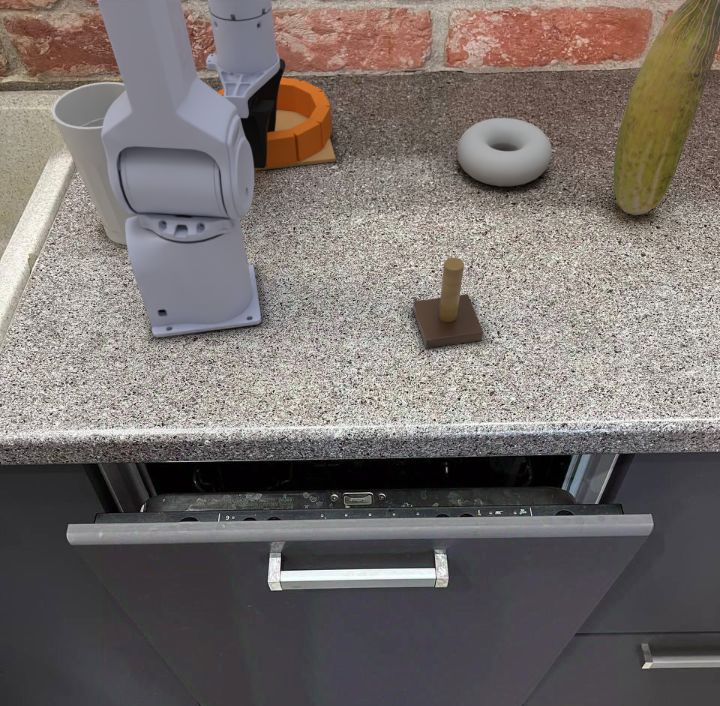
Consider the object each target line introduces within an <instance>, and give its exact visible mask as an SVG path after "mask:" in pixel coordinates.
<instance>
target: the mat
mask: <svg viewBox="0 0 720 706" xmlns="http://www.w3.org/2000/svg"><path fill="white" fill-rule="evenodd" d="M308 119H309V118H307V117H305V116H303V115H301V114H299V113H297V112H293V111H285V110H278V109H277V111H276V126H275V131H280V130H287V129H291V128H293V127H294V126H296V125H298V124H300V123H302V122H304V121H306V120H308ZM330 137H331V136H330ZM330 137H329V139H328V141H327V143H326V144H325V146H324V148H321V149H322V150H321V151H319V152H317V153H315V154H313V155H312V156H310V157H308V158H306V159H304V160H302V161H301V162H299V161H297V163H293V164H287V165H281V166H274V167H267V165H265V168H254V172H255V171H263V170H272V169H281V168H290V167H299V166H300V167H301V166H306V165H307V166H308V165H317V164H326V163H327V164H328V163H334V162H336V161H337V158H336V154H335V150H334V148H333V144H332V140H331V138H330Z"/></svg>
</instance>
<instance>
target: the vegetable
mask: <svg viewBox="0 0 720 706" xmlns="http://www.w3.org/2000/svg"><path fill="white" fill-rule="evenodd" d="M719 43H720V0H685V1H684V2H683V3H682V4H681V5H679V7H677V8H676V9H675V11H674V12H672V13H671V15H670V16H669V17H668V18H667V19H666V20H665V22H664V23H663V24H662V26H661V27H660V30H659V31H658V33H657V34H656V36H655V38H654V41H653V42H652V44H651V46H650V48H649V50H648V52H647V54H646V57H645V58H644V60H643V63H642V64H641V66H640V69H639V71H638V73H637V75H636V78H635V80H634V82H633V85H632V87H631V90H630V93H629V96H628V98H627V102H626V105H625V109H624V111H623V116H622V119H621V122H620V125H619V130H618V133H617V137H616V145H615V153H614V159H613V192H614V196H615V200H616V203H617V205H618V206H619V208H620V209H621V211H623V212H624V213H626V214H628V215H632V216H638V215H644V214H646V213H649V212H650V211H651V210H653V209H654V208H655V207H657V205H659V204H660V202H661V201H663V198H664V197H665V196H666V194H667V192H668V190H669V188H670V187H671V184H672V182H673V179H674V177H675V175H676V172H677V169H678V166H679V162H680V159H681V156H682V153H683V150H684V147H685V144H686V142H687V139H688V136H689V133H690V131H691V127H692V124H693V121H694V119H695V116H696V114H697V111H698V108H699V106H700V105H699V104H700V102H701V100H702V96H703V93H704V91H705V87H706V85H707V82H708V78H709V75H710V72H711V70H712V67H713V64H714V62H715V61H714V60H715V58H716V57H715V56H716V54H717V50H718V47H719Z"/></svg>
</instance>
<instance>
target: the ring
mask: <svg viewBox="0 0 720 706" xmlns="http://www.w3.org/2000/svg"><path fill="white" fill-rule="evenodd" d="M217 92H218V93H219V94H221V95H224V90H223V88H221V89H218V90H217ZM327 97H328V96H327V95H326V93H325V92H324V90H323V89H322V88H319V87H317V86H315V85H313V84H311V83H310V82H308V81H305V80H301V79H299V78H292V77H291V78H290V77H283V76H282V78H281V81H280V86H279V91H278V98H277V109H278V110H285V111H293V112H297V113H299V114H301V115H303V116H305V117H307V118H309V119H308V120H306V121H304V122H302V123H300V124H298V125H296V126H294V127H293V128H291V129H287V130H280V131H274V132H267V160H266V165H267V167H274V166H281V165H287V164H293V163H297V161H299V162H301V161H302V160H304V159H306V158H308V157H310V156H312V155H313V154H315V153H317V152H319V151H321V150H322V149H321V148H324V146H325V144H326V143H327V141H328V139H329V137H331V135H332V134H333V133H332V131H333V130H332V129H333V128H332V109H331V107H332V106H331V104H330V102H329V99H328V98H327Z"/></svg>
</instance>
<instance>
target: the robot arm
mask: <svg viewBox="0 0 720 706" xmlns="http://www.w3.org/2000/svg"><path fill="white" fill-rule="evenodd" d="M96 1H97V5H98V8H99V10H100V14H101V17H102V21H103V24H104V27H105V30H106V33H107V36H108V40H109V42H110V45H111V48H112V52H113V55H114V58H115V61H116V65H117V68H118V71H119V75H120V77H121V80H122V83H123V84H124V87H125V91H124V92H123V93H122V94H121V95H120V96H119V97H118V98H117V99H116V100H115V101H114V102H113V104H112V105H111V106H110V108H109V109H108V111H107V114H106V116H105V119H104V122H103V127H102V132H101V139H102V142H103V145H104V149H105V153H106V157H107V165H108V175H109V181H110V185H111V188H112V191H113V193H114V196H115V197H116V199H117V201H118V202H119V203H120V205H121V206H122V208H123V209H124V210H125V211H126V212H128V213H130V214H137V216H134V217H130V218H127V219H126V222H125V233H126V242H127V245H126V248H127V253H128V257H129V262H130V266H131V271H132V273H133V276H134V279H135V282H136V285H137V288H138V291H139V293H140V297H141V299H142V302H143V306H144V307H145V311H146V313H147V317H148V319H149V322H150V326H151V333H152V336H153V337H154V338H164V337H172V336H173V337H174V336H180V335H187V334H196V333H202V332H209V331H217V330H225V329H226V330H227V329H232V328H233V329H234V328H241V327H247V326H256V325H259V324H261V322H262V314H261V307H260V300H259V294H258V292H259V291H258V285H257V280H256V272H255V266H254V265H253V264H250V263H249V262H248V256H247V251H246V246H245V239H244V234H243V229H242V220H243V219H244V218H245V217H246V215H247V214H248V213H249V211H250V210H251V207H252V204H253V200H254V195H255V193H254V192H255V171H254V168H265V165H266V160H267V132H274V131H275V126H276V111H277V98H278V91H279V86H280V81H281V78H282V77H283V75H284V73H285V70H286V60H284V59H283V58H281V57H280V56H279V55H280V54H279V53H278V49H277V43H276V33H275V23H274V12H273V3H272V0H207V5H208V12H209V17H210V23H211V29H212V35H213V41H214V47H215V52H216V53H210V54H208V56H207V57H206V59H205V66H206V70H209V71H215V72H217V74H218V77H219V80H220V83H221V86H222V89H223V90H224V95H221V94H219V93H218V91H216V89H214V88H212V87H211V86H209V85H208V84H207V83H205V82H204V81H203V80H202V79H200V77H199V76H198V72H197V67H196V62H195V58H194V54H193V51H192V50H193V49H192V46H191V41H190V36H189V31H188V27H187V23H186V19H185V14H184V10H183V5H182V1H181V0H96Z"/></svg>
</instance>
